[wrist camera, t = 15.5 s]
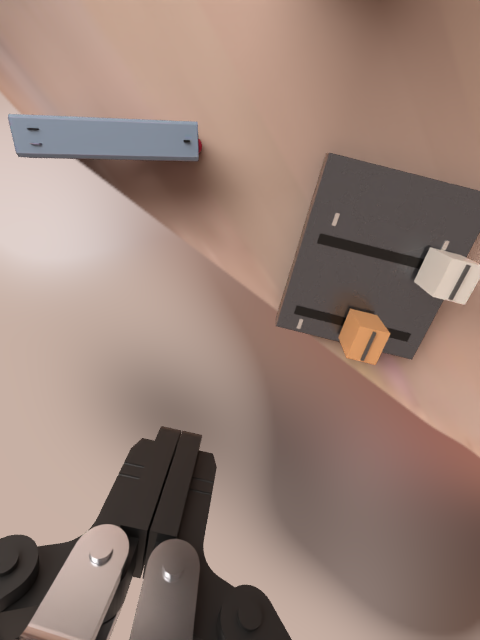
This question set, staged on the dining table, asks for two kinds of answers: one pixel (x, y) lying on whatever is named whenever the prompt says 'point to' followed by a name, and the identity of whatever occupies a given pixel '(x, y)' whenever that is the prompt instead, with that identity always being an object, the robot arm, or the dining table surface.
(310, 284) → the console
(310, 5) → the dining table surface
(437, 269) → the fader white
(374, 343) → the fader orange
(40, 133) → the toy
